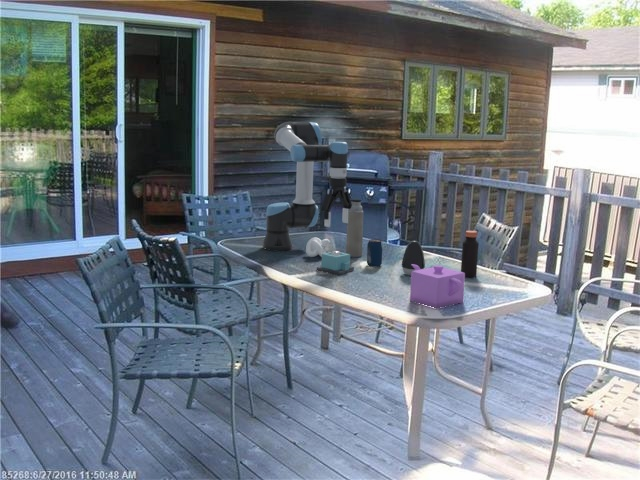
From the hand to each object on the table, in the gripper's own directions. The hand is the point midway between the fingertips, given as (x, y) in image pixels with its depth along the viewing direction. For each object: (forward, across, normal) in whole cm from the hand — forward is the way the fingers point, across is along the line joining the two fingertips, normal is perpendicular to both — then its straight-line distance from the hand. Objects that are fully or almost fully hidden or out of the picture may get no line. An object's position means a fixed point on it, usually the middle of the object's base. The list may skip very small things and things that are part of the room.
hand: (336, 224), depth 291 cm
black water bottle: (+20, +28, -52) cm, 63 cm away
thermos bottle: (+21, +30, +10) cm, 38 cm away
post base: (+20, -3, -3) cm, 21 cm away
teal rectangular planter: (+19, -3, -3) cm, 19 cm away
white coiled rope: (+21, +15, +22) cm, 33 cm away
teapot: (+19, -18, -60) cm, 65 cm away
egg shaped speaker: (+20, +14, -32) cm, 41 cm away
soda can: (+20, +17, -10) cm, 28 cm away
